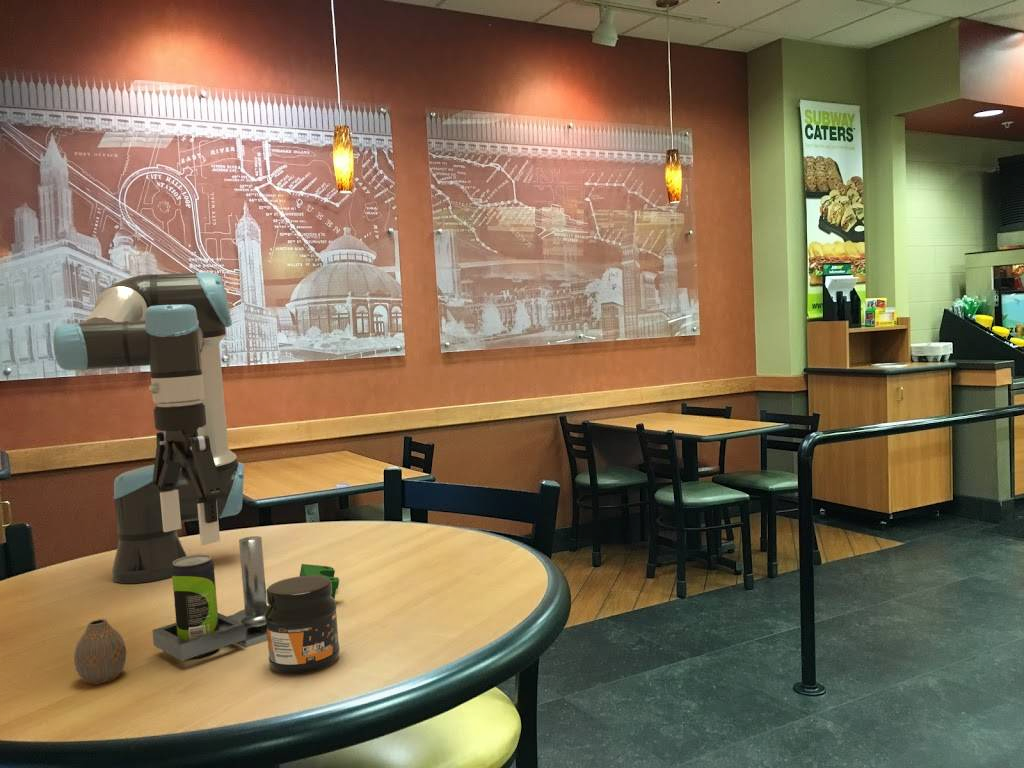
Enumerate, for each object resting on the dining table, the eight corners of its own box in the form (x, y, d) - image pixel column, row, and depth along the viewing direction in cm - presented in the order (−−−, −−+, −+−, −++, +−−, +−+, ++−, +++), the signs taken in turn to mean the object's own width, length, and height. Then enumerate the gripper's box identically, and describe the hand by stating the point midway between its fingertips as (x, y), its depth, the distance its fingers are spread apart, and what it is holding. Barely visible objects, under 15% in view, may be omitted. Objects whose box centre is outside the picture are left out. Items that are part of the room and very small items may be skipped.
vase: (88, 671, 125) (83, 615, 124) (135, 667, 125) (130, 611, 125) (68, 691, 118) (62, 632, 117) (117, 686, 118) (111, 628, 118)
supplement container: (273, 683, 116) (267, 601, 116) (265, 657, 126) (258, 581, 125) (347, 667, 120) (341, 587, 120) (333, 643, 130) (327, 570, 129)
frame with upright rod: (154, 654, 130) (145, 556, 129) (266, 618, 144) (259, 529, 143) (182, 670, 123) (173, 566, 122) (297, 630, 137) (290, 537, 136)
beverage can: (228, 645, 132) (221, 554, 131) (202, 660, 126) (194, 566, 125) (197, 642, 134) (190, 553, 133) (170, 657, 128) (162, 564, 127)
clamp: (330, 627, 150) (340, 588, 147) (297, 625, 148) (307, 585, 145) (327, 585, 160) (337, 548, 157) (296, 583, 158) (306, 545, 155)
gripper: (123, 403, 133) (135, 530, 135) (190, 409, 116) (203, 554, 118) (169, 398, 139) (180, 520, 141) (240, 403, 121) (251, 542, 123)
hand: (190, 536), depth 129 cm, fingers open, 13 cm apart
